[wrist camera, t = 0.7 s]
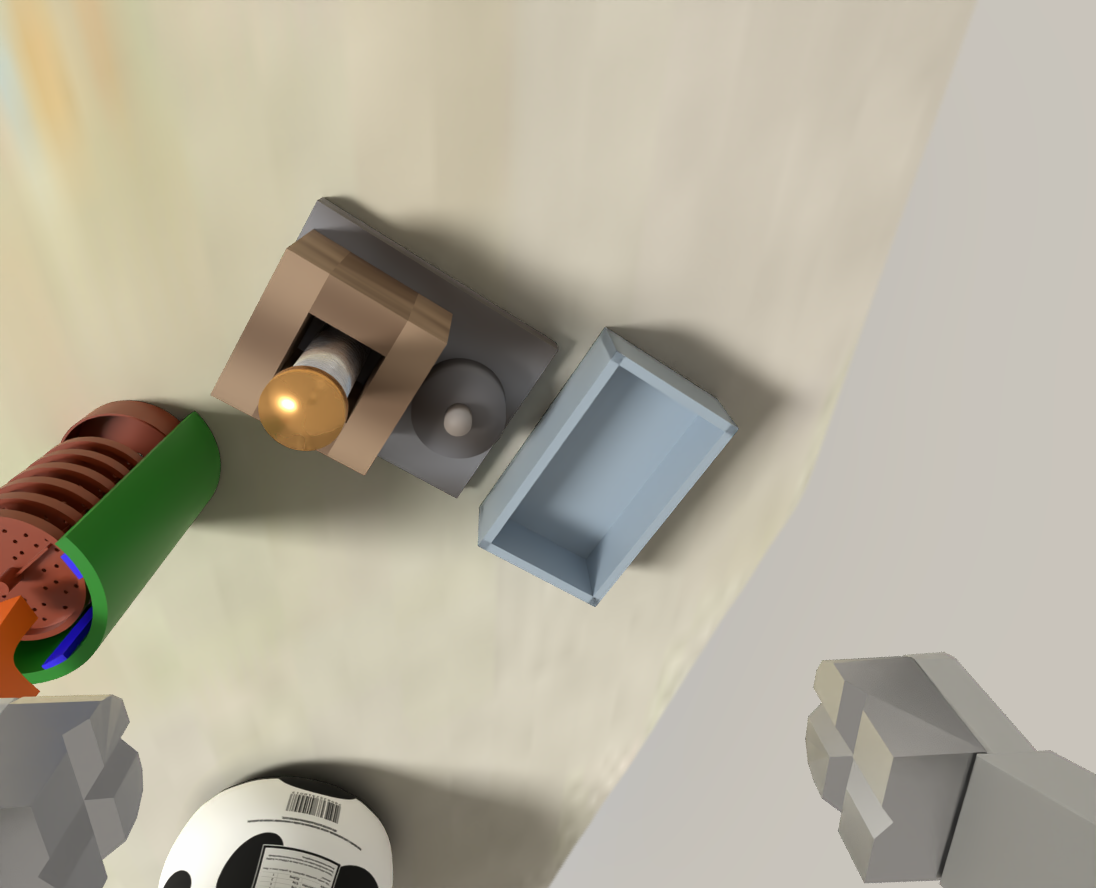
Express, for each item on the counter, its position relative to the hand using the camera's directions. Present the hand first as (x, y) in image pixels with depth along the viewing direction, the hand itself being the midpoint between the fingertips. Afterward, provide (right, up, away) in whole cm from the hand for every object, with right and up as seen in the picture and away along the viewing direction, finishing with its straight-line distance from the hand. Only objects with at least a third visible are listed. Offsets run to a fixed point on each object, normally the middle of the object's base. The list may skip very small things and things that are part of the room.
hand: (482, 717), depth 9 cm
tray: (+4, +3, +42) cm, 43 cm away
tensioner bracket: (-9, +9, +39) cm, 41 cm away
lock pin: (-11, +10, +36) cm, 39 cm away
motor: (-25, +2, +41) cm, 48 cm away
